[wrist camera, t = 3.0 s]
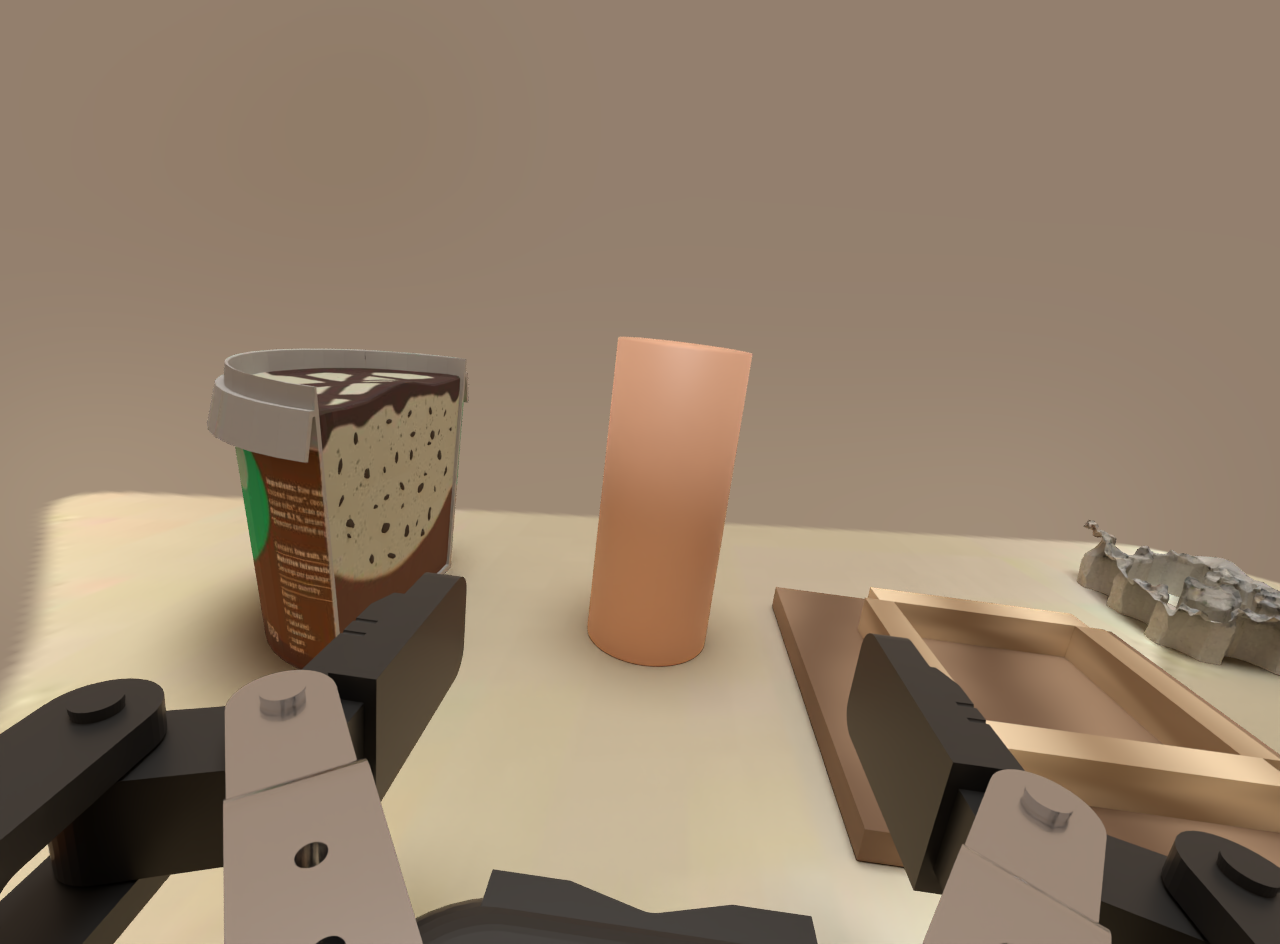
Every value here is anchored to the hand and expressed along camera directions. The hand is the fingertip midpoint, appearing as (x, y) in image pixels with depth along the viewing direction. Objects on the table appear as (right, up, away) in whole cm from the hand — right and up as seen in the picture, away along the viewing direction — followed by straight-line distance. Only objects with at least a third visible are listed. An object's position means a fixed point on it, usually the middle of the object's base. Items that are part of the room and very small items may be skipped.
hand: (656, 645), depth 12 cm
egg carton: (+30, -5, +22) cm, 37 cm away
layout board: (+14, -6, +10) cm, 18 cm away
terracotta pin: (0, -3, +13) cm, 14 cm away
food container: (-13, -2, +13) cm, 18 cm away
